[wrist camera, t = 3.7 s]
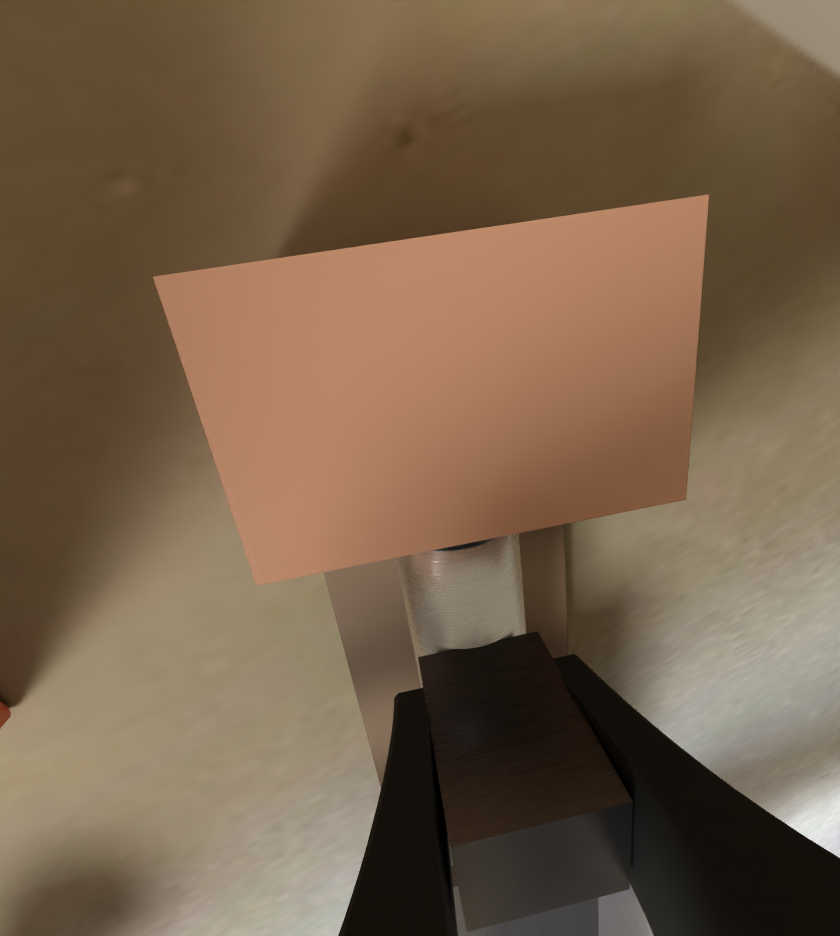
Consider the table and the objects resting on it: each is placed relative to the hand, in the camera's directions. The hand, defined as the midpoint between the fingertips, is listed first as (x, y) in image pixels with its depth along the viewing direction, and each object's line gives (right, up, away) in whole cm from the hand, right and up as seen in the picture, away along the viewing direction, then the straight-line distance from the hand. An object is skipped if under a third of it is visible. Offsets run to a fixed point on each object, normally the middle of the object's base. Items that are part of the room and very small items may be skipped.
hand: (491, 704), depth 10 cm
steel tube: (0, -1, +5) cm, 5 cm away
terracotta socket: (-2, +8, +2) cm, 9 cm away
